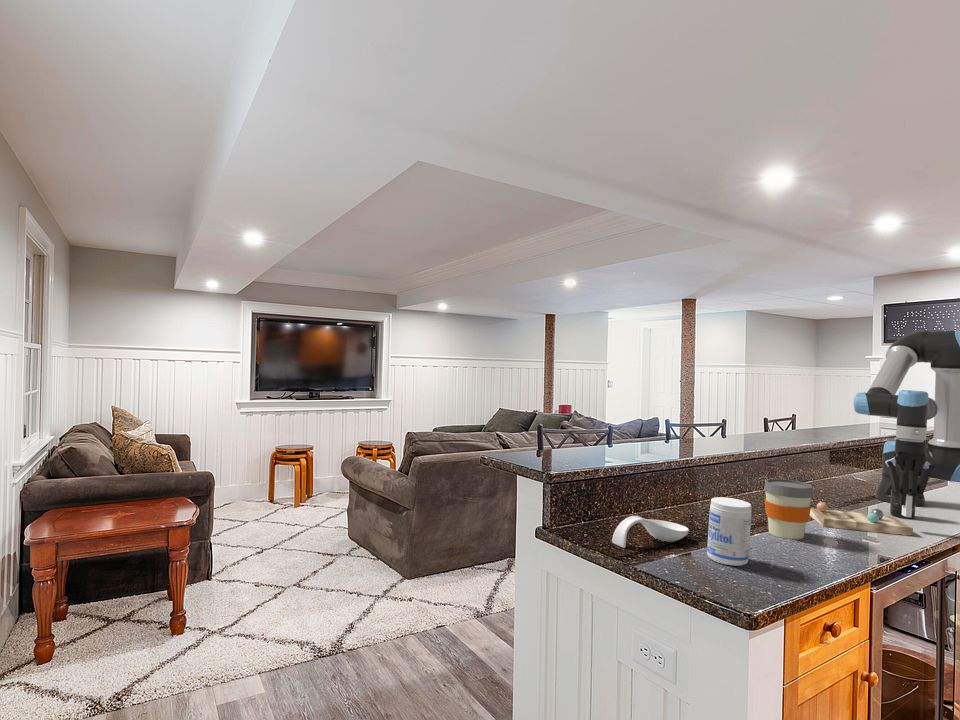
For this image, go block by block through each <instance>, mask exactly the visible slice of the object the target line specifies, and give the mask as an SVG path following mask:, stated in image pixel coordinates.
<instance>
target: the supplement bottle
mask: <svg viewBox="0 0 960 720" xmlns="http://www.w3.org/2000/svg"><path fill="white" fill-rule="evenodd" d="M898 481H899V480H898ZM908 490H909V481H908V486H907V494H908V495H909V493H908ZM889 507H890V508H889V513H890V516H893V517H895V518H900V519H906V520H913V519H915V517H916V507H917V506H916V501H915V506H912V515H911V517H905V516H903V515H902V505H901V504H900V503H899V493H898V492H896V491H893V489H892V490H891V503H890V505H889Z"/></svg>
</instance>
